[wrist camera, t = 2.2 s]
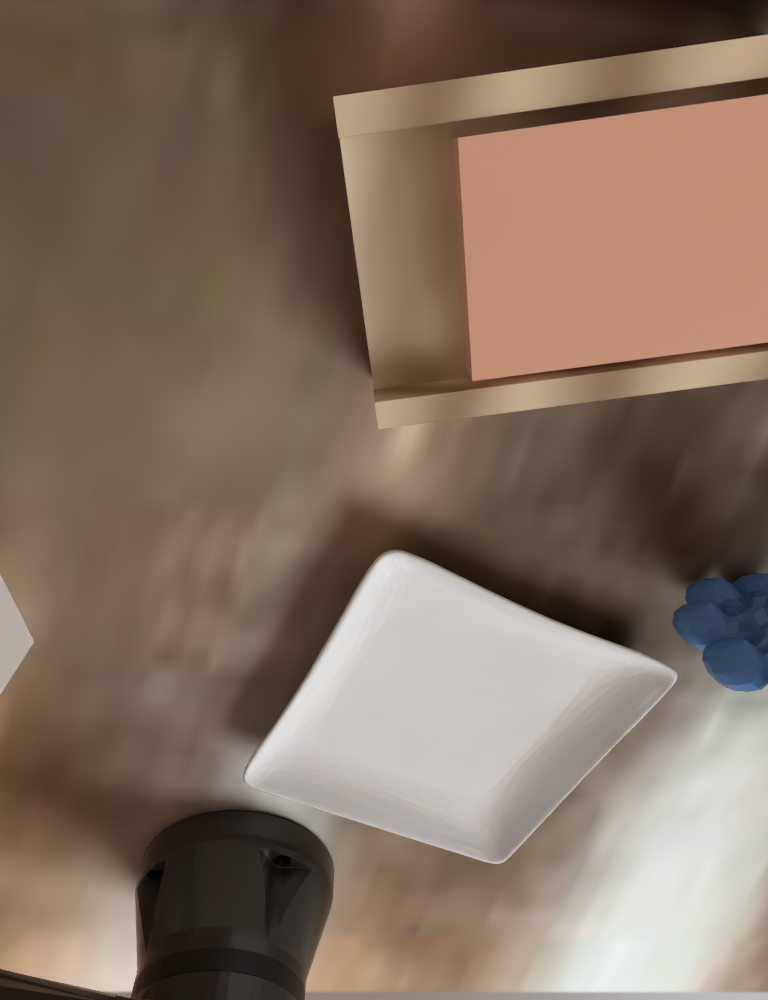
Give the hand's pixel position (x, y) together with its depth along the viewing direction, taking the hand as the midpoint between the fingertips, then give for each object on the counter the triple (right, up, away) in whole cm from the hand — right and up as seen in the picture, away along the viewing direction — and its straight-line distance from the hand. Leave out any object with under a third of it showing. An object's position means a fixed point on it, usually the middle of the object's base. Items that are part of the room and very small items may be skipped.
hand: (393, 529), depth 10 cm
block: (+10, +11, +15) cm, 21 cm away
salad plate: (+4, -13, +34) cm, 37 cm away
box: (+8, +13, +20) cm, 25 cm away
